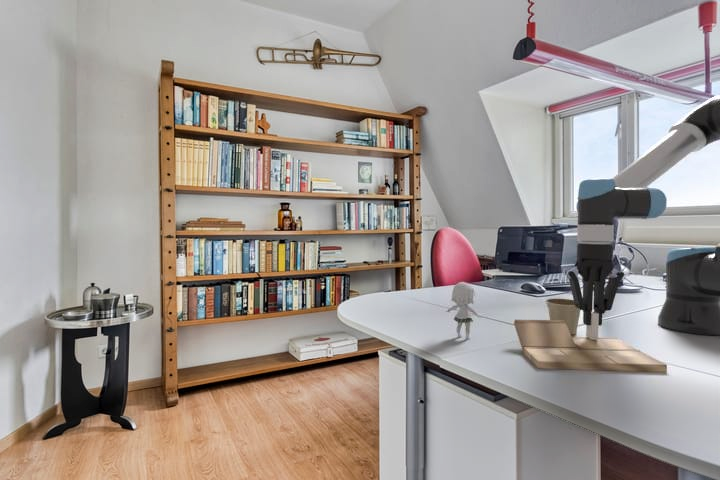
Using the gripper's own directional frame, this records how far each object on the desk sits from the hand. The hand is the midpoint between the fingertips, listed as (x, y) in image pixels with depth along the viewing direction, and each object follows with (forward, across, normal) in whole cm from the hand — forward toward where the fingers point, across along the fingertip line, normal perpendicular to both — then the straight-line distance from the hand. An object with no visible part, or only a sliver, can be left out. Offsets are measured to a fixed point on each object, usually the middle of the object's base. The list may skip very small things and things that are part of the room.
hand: (592, 338), depth 92 cm
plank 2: (+2, 0, +3) cm, 3 cm away
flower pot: (+2, +2, -12) cm, 12 cm away
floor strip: (+2, +6, +12) cm, 13 cm away
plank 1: (-1, +13, +3) cm, 13 cm away
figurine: (+2, +31, -4) cm, 31 cm away
